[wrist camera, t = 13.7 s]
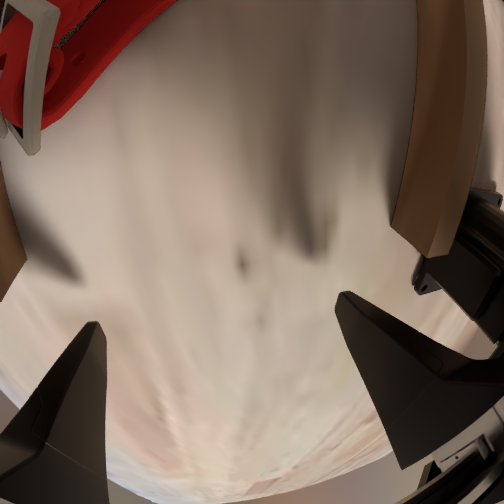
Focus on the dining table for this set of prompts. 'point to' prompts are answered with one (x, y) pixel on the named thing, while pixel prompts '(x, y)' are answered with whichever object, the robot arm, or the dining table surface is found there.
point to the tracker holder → (59, 56)
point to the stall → (421, 138)
